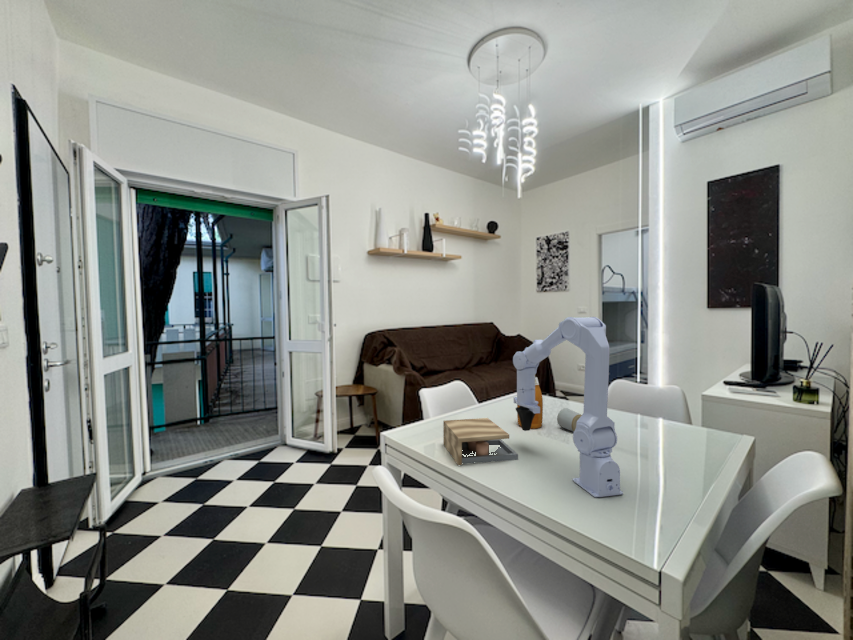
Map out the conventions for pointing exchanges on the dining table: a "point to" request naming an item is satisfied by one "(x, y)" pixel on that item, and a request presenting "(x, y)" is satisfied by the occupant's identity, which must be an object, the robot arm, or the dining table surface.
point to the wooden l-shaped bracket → (469, 434)
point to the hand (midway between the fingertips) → (526, 430)
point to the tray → (502, 453)
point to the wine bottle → (538, 397)
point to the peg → (472, 445)
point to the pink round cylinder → (482, 448)
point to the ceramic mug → (568, 419)
